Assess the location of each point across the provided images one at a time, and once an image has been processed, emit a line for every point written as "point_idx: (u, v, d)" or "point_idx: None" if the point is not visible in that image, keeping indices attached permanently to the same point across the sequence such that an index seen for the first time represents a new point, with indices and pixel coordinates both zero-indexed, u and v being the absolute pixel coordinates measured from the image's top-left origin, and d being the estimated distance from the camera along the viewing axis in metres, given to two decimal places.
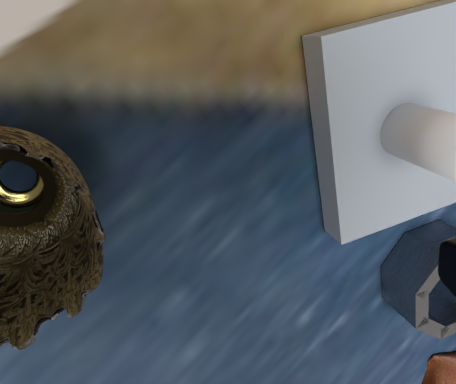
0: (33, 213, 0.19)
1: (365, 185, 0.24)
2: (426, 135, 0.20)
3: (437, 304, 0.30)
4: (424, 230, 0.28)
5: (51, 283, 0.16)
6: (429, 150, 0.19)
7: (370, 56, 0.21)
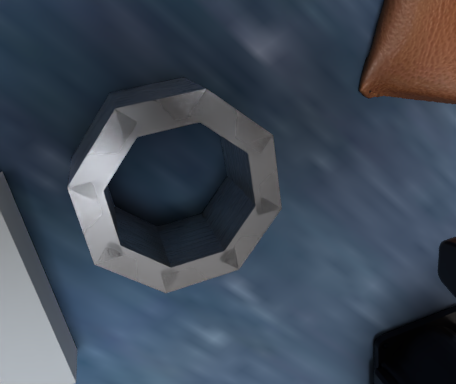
0: None
1: None
2: None
3: (234, 164, 0.16)
4: None
5: None
6: None
7: None
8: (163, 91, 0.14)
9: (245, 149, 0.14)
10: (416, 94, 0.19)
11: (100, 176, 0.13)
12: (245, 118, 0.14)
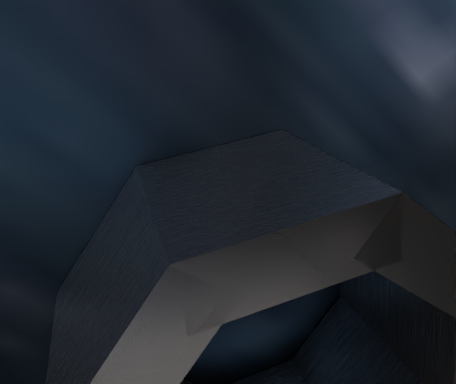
0: None
1: None
2: None
3: (379, 299, 0.08)
4: None
5: None
6: None
7: None
8: (271, 184, 0.06)
9: None
10: None
11: None
12: None
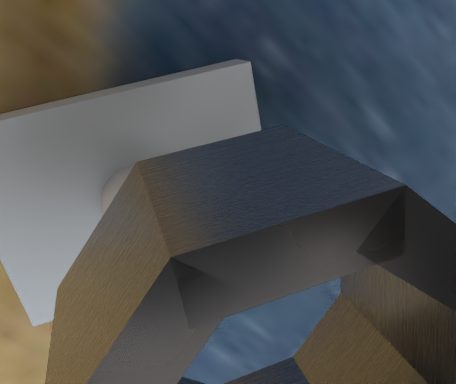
0: None
1: None
2: None
3: (381, 295, 0.08)
4: None
5: None
6: None
7: (46, 267, 0.17)
8: (273, 178, 0.06)
9: None
10: None
11: None
12: None
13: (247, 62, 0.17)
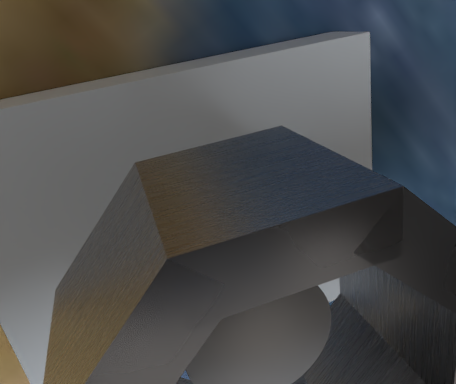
0: None
1: None
2: None
3: (379, 296, 0.08)
4: None
5: None
6: None
7: None
8: (271, 179, 0.06)
9: None
10: None
11: None
12: None
13: (364, 33, 0.12)
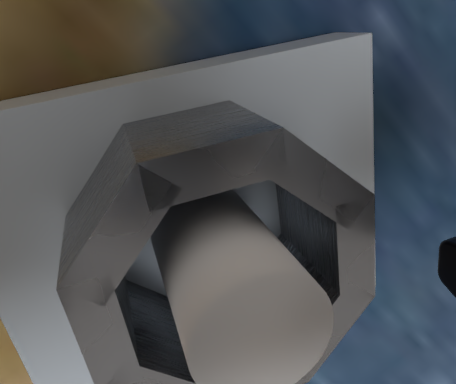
0: None
1: None
2: None
3: (300, 225, 0.11)
4: None
5: None
6: None
7: (67, 326, 0.12)
8: (209, 127, 0.09)
9: (333, 217, 0.09)
10: None
11: (110, 269, 0.08)
12: (337, 171, 0.09)
13: (367, 34, 0.12)
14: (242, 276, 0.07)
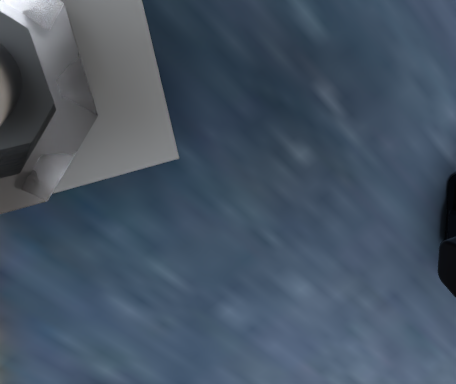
0: None
1: None
2: None
3: None
4: None
5: None
6: None
7: None
8: None
9: (22, 21, 0.10)
10: None
11: None
12: None
13: None
14: None
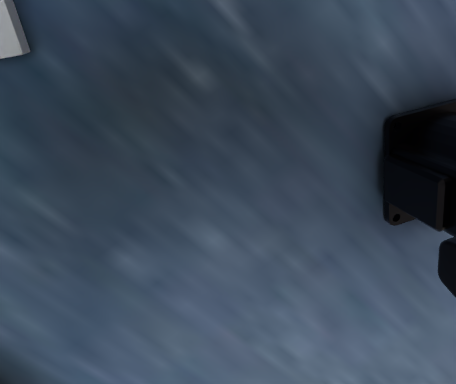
0: None
1: None
2: None
3: None
4: None
5: None
6: None
7: None
8: None
9: None
10: None
11: None
12: None
13: None
14: None
